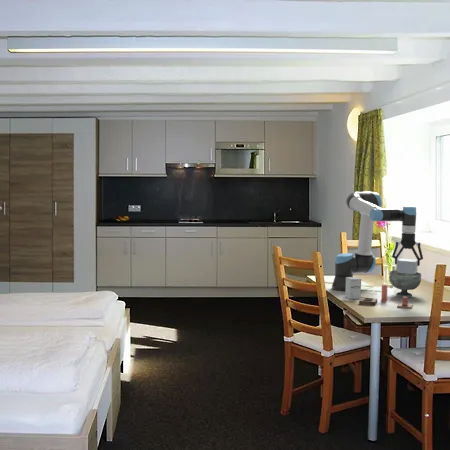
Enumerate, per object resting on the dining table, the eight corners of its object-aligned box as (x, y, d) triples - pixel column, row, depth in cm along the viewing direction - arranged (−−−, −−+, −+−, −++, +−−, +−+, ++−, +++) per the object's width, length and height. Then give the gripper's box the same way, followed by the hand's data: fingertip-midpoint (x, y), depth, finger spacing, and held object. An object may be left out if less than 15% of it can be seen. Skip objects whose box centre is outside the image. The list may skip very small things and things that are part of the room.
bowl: (399, 299, 382) (399, 275, 381) (382, 294, 401) (383, 270, 399) (427, 298, 387) (428, 274, 386) (410, 292, 406) (411, 269, 405)
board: (398, 305, 366) (398, 294, 366) (412, 306, 363) (413, 295, 363) (397, 307, 359) (397, 297, 358) (411, 308, 356) (412, 298, 356)
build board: (361, 301, 377) (362, 297, 377) (377, 302, 374) (377, 298, 373) (359, 304, 366) (359, 300, 366) (374, 305, 363) (374, 302, 363)
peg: (381, 300, 378) (382, 284, 377) (387, 301, 377) (387, 284, 376) (381, 301, 375) (381, 285, 374) (386, 302, 374) (387, 285, 373)
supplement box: (349, 299, 381) (350, 278, 380) (344, 297, 388) (345, 276, 387) (361, 299, 383) (361, 278, 382) (356, 296, 390) (356, 276, 389)
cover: (398, 270, 374) (399, 258, 373) (416, 271, 370) (417, 259, 369) (396, 272, 364) (397, 260, 364) (414, 273, 361) (415, 261, 360)
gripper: (387, 232, 366) (386, 270, 368) (428, 234, 357) (426, 273, 359) (389, 231, 373) (387, 268, 375) (429, 233, 364) (427, 271, 366)
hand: (406, 270), depth 367 cm, fingers closed on cover, 10 cm apart
